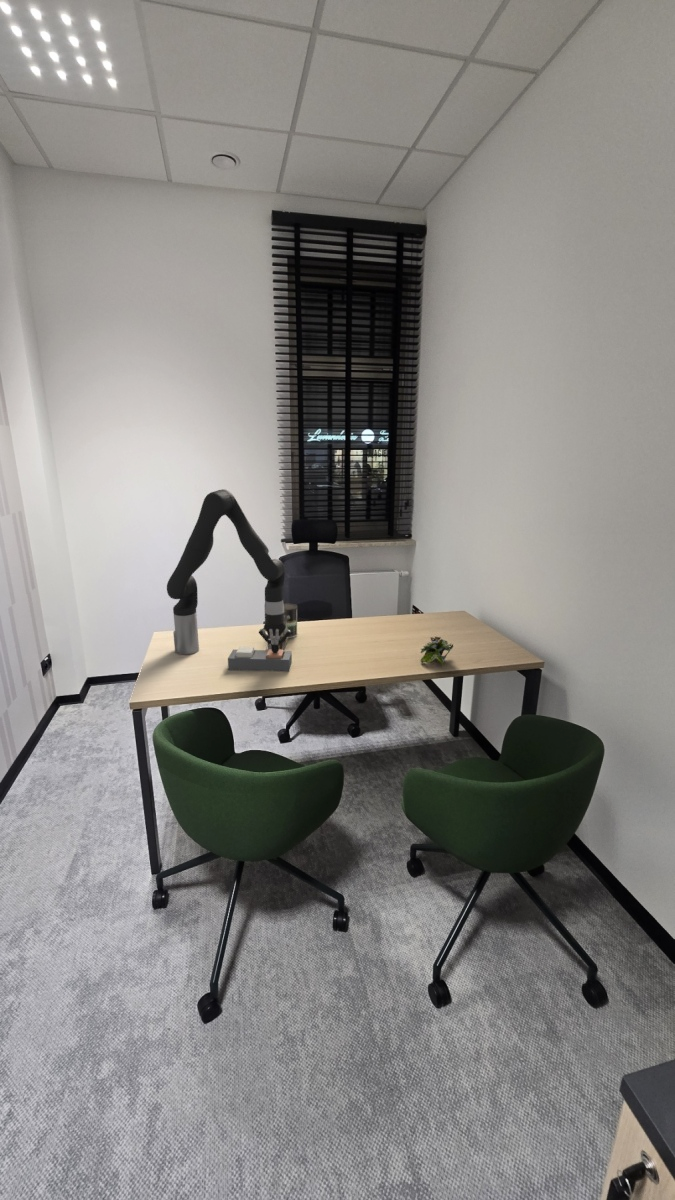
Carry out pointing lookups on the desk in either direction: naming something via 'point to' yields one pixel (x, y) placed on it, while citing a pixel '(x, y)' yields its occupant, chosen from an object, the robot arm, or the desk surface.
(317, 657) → the desk surface
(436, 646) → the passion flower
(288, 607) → the coffee can
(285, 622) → the coffee box
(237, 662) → the key console
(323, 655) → the desk surface
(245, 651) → the offwhite key
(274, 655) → the terracotta key
